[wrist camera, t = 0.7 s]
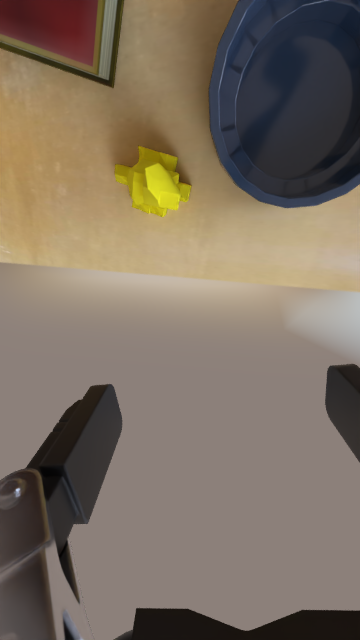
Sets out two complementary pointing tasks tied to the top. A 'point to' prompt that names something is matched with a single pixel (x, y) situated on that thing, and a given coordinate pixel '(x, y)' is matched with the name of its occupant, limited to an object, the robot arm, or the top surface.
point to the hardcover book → (65, 34)
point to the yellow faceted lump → (153, 182)
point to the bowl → (289, 100)
